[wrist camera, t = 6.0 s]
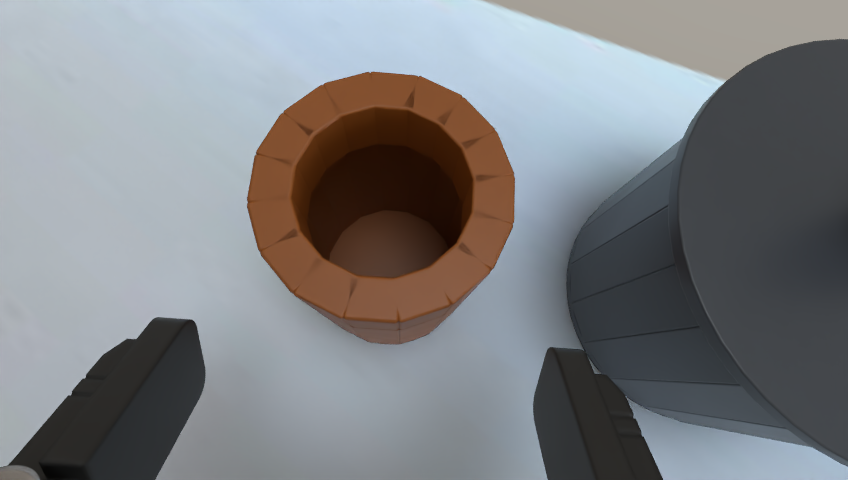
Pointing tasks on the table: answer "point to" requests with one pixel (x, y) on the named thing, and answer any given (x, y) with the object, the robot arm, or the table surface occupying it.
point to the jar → (382, 203)
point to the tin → (652, 314)
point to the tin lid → (773, 235)
